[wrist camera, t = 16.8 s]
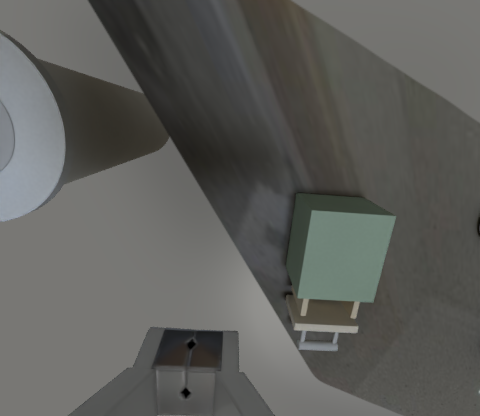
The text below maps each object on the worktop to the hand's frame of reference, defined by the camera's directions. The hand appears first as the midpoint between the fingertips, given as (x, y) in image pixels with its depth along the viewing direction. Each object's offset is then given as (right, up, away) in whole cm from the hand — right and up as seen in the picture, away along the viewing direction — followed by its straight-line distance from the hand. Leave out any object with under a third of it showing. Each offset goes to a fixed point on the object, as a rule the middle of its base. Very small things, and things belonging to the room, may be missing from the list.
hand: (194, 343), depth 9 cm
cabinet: (+15, +1, +33) cm, 36 cm away
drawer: (+14, -8, +35) cm, 38 cm away
